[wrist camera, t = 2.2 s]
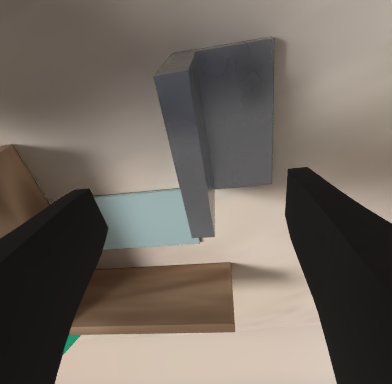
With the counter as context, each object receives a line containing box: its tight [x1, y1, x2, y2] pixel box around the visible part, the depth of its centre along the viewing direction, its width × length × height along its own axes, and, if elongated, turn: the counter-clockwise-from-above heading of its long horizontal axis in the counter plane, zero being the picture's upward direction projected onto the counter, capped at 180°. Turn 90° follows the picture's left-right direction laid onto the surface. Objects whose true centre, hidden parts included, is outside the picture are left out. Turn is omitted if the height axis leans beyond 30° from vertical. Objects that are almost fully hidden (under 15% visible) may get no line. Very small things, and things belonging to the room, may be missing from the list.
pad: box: [94, 188, 200, 250], centre depth 20 cm, size 9×5×1 cm, turn 99°
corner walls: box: [0, 144, 235, 335], centre depth 17 cm, size 14×14×5 cm
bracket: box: [154, 37, 274, 238], centre depth 13 cm, size 8×5×5 cm, turn 9°
